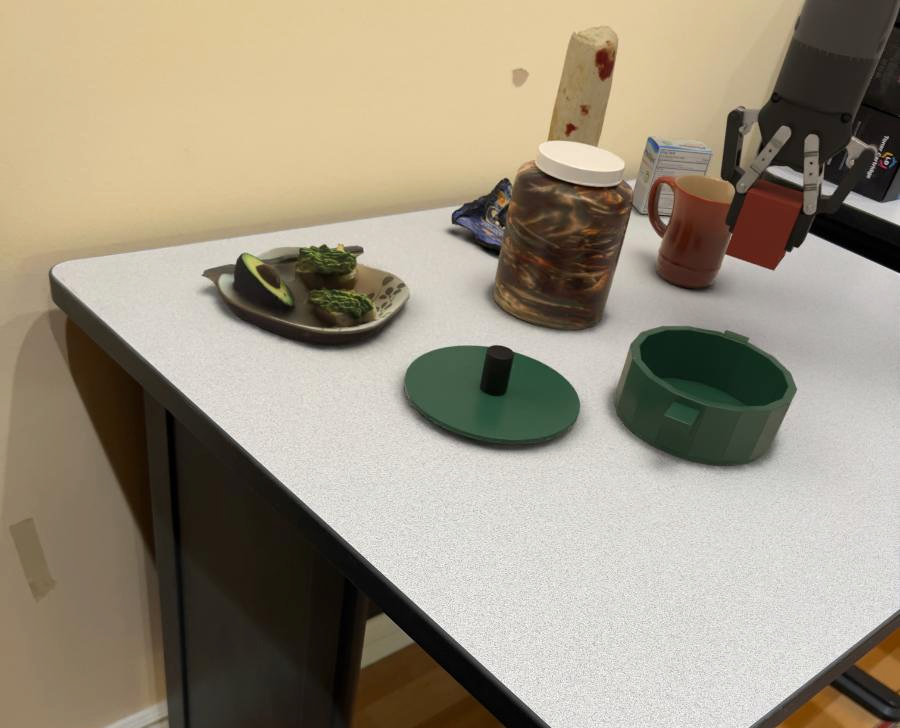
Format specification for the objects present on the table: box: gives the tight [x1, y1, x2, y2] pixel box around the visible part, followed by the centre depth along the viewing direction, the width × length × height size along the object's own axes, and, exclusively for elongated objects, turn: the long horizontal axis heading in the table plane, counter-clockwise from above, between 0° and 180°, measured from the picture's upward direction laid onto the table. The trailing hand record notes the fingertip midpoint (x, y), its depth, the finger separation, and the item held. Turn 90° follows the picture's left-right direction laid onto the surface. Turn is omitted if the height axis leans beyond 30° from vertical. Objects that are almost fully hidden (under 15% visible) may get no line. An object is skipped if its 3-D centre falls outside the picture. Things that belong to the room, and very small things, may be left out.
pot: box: [614, 325, 798, 467], centre depth 79 cm, size 15×20×6 cm
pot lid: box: [403, 344, 581, 445], centre depth 77 cm, size 16×16×5 cm
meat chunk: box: [725, 178, 804, 271], centre depth 86 cm, size 5×5×6 cm
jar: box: [492, 141, 634, 330], centre depth 90 cm, size 12×12×15 cm
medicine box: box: [632, 135, 714, 216], centre depth 119 cm, size 8×4×9 cm, turn 102°
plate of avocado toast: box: [200, 243, 411, 347], centre depth 87 cm, size 19×18×5 cm
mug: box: [647, 174, 735, 289], centre depth 103 cm, size 12×9×10 cm
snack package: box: [451, 177, 514, 252], centre depth 105 cm, size 12×6×12 cm
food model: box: [546, 25, 619, 147], centre depth 113 cm, size 10×7×20 cm
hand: (760, 239), depth 87 cm, fingers closed on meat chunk, 5 cm apart
